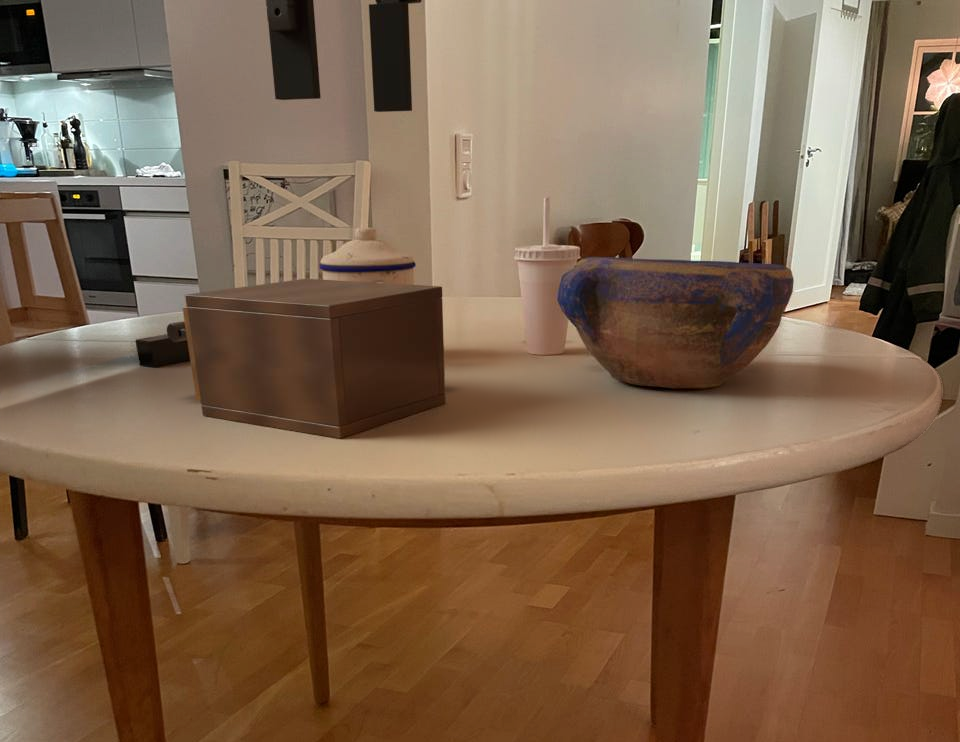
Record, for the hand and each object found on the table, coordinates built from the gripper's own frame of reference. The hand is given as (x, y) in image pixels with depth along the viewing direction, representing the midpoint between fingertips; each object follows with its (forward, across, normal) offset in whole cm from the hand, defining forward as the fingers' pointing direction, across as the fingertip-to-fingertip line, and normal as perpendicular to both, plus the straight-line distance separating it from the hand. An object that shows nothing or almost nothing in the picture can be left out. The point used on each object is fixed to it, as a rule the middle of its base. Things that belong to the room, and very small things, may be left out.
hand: (350, 106), depth 61 cm
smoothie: (+20, +28, -6) cm, 35 cm away
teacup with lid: (+20, +20, +9) cm, 30 cm away
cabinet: (+20, -1, +3) cm, 20 cm away
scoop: (+20, +14, +28) cm, 37 cm away
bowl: (+20, +18, -20) cm, 34 cm away
